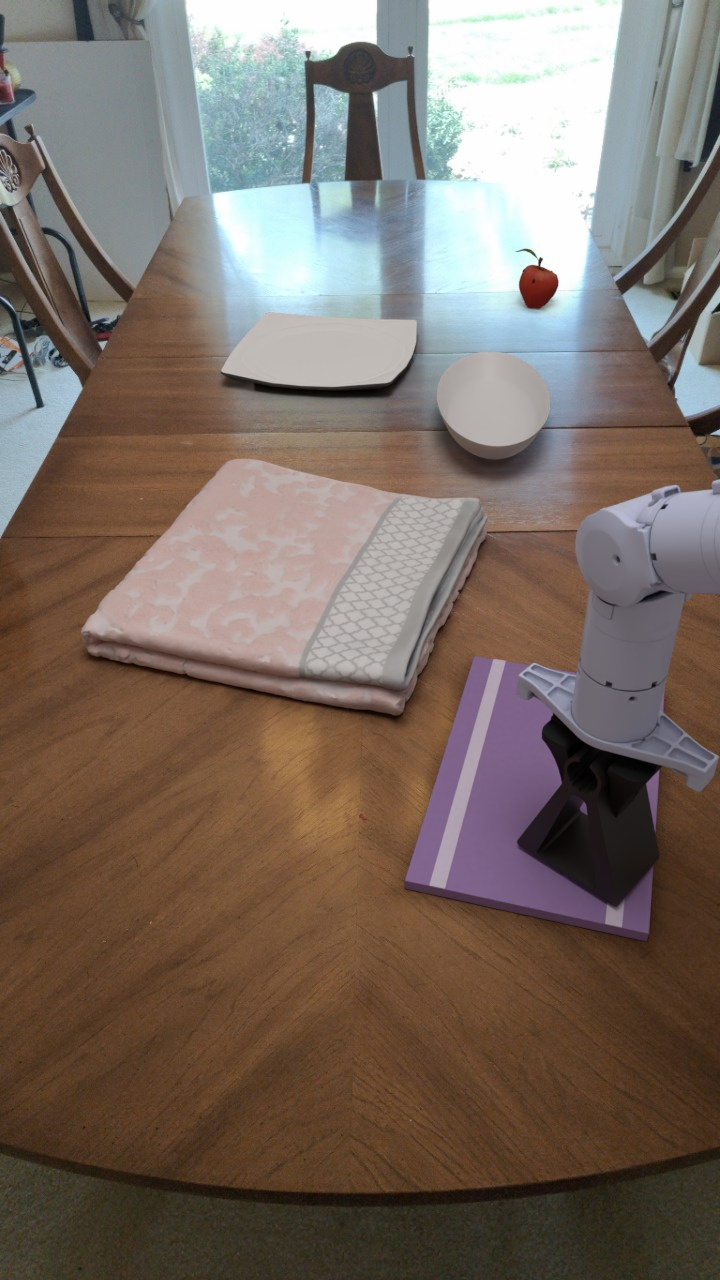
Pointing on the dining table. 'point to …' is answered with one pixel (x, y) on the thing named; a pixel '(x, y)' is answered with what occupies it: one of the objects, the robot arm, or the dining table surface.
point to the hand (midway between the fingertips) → (596, 805)
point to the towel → (295, 587)
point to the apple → (537, 284)
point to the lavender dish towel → (508, 814)
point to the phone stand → (594, 830)
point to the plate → (323, 352)
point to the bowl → (493, 403)
